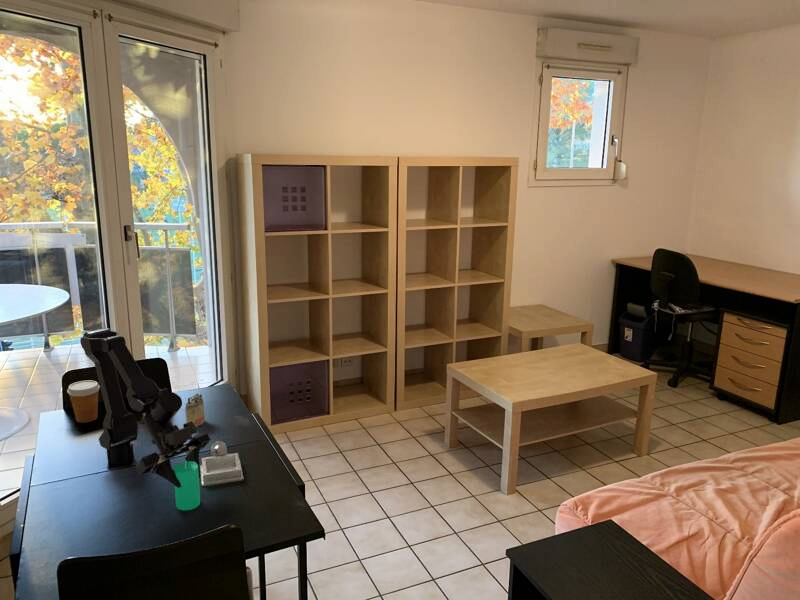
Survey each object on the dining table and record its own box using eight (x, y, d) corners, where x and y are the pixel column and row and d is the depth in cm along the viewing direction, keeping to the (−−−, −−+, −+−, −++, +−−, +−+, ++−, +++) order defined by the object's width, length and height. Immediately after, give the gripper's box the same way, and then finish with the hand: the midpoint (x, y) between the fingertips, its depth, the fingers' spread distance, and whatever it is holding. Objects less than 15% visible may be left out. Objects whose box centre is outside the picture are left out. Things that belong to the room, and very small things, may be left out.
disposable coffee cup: (94, 425, 198) (90, 390, 195) (65, 424, 198) (60, 390, 195) (108, 413, 207) (104, 380, 204) (80, 412, 207) (76, 379, 204)
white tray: (201, 486, 163) (200, 471, 162) (199, 457, 179) (198, 443, 178) (243, 480, 167) (243, 465, 166) (237, 451, 182) (237, 438, 181)
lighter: (192, 429, 196) (190, 400, 194) (183, 427, 198) (181, 399, 195) (207, 421, 203) (205, 393, 200) (198, 419, 204) (196, 391, 202)
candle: (177, 512, 151) (174, 469, 149) (174, 500, 157) (171, 458, 154) (202, 506, 154) (199, 464, 151) (198, 495, 159) (195, 453, 156)
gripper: (138, 427, 145) (167, 485, 141) (205, 403, 159) (233, 454, 156) (123, 447, 151) (151, 503, 148) (189, 422, 166) (216, 472, 162)
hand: (190, 482), depth 153 cm, fingers closed on candle, 5 cm apart
